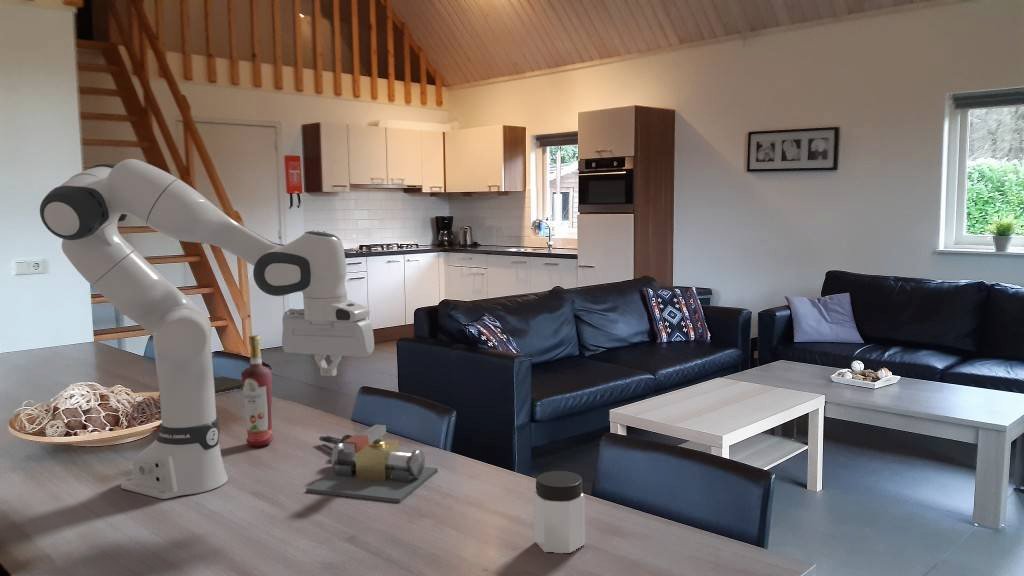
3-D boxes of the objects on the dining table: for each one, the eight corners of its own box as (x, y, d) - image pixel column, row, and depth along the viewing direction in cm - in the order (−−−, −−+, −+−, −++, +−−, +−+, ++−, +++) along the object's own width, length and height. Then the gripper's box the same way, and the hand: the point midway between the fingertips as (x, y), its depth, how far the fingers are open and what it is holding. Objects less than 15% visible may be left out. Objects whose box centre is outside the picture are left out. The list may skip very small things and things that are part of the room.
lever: (375, 437, 173) (374, 423, 173) (387, 438, 172) (386, 424, 172) (342, 457, 160) (342, 442, 160) (355, 458, 159) (355, 443, 159)
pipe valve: (330, 475, 172) (328, 443, 171) (346, 465, 178) (344, 433, 177) (412, 484, 165) (411, 450, 165) (426, 473, 172) (425, 440, 171)
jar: (556, 529, 144) (555, 466, 142) (592, 541, 138) (592, 476, 137) (525, 546, 137) (524, 480, 135) (563, 559, 132) (562, 491, 130)
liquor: (280, 440, 201) (274, 333, 198) (266, 449, 194) (260, 339, 191) (254, 439, 202) (248, 333, 199) (239, 448, 195) (233, 338, 192)
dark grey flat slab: (161, 396, 252) (160, 389, 252) (223, 382, 270) (223, 376, 270) (189, 403, 243) (188, 396, 242) (252, 388, 261) (251, 381, 261)
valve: (412, 465, 184) (358, 467, 174) (355, 449, 203) (303, 450, 193) (415, 438, 185) (360, 438, 175) (358, 425, 204) (306, 424, 194)
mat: (306, 491, 165) (306, 488, 164) (351, 462, 182) (351, 459, 182) (400, 502, 158) (400, 498, 158) (437, 471, 176) (437, 467, 176)
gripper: (273, 310, 161) (277, 375, 162) (361, 313, 154) (364, 381, 156) (291, 306, 167) (294, 369, 168) (376, 309, 160) (379, 374, 162)
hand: (328, 375), depth 162 cm, fingers closed
